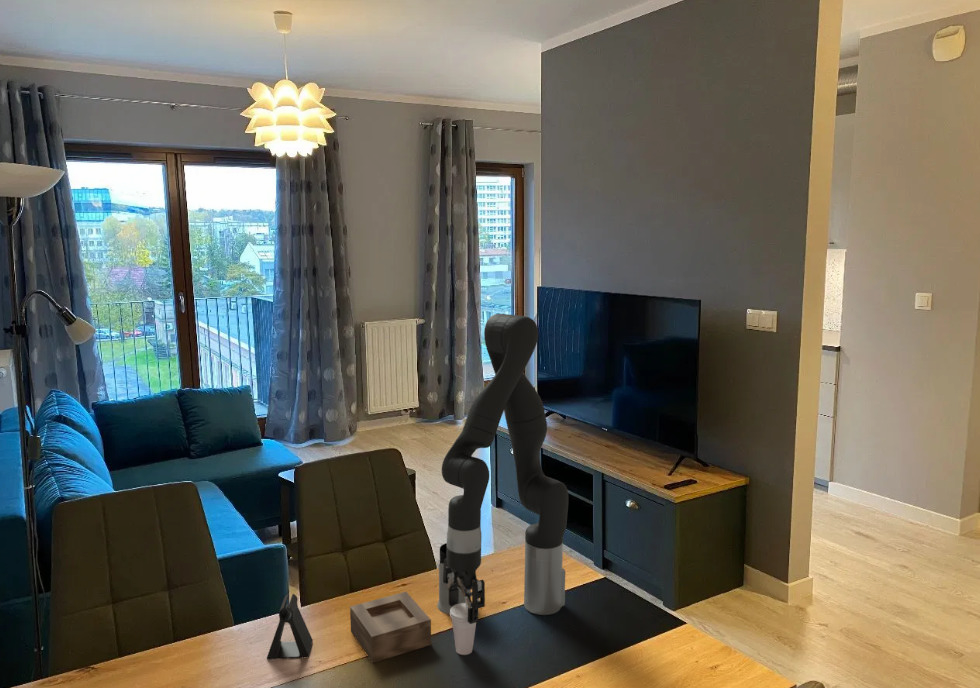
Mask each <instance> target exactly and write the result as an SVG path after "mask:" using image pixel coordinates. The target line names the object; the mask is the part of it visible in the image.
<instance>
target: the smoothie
mask: <svg viewBox="0 0 980 688" xmlns="http://www.w3.org/2000/svg"><path fill="white" fill-rule="evenodd" d="M467 593H468V592H467ZM479 611H480V610H479V609H478V616H480V615H479V614H480V613H479ZM449 616H450V618H451V623H452V631H453V638H454V646H455V653H457V654H458V655H461V656H467V655H470V654H471V653H472V652H473V649H474V641H475V635H476V634H475V633H476V627H477V626H476V625H477V622H476V623H472V624H470V623H469V622H468V604H467V600H466V603H459V604H456V605H454V606H453V607H452V608H451V609H450V614H449Z"/></svg>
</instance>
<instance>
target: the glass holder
mask: <svg viewBox="0 0 980 688" xmlns="http://www.w3.org/2000/svg"><path fill="white" fill-rule="evenodd" d="M444 559H447V542H445V543H444V544H442V545H441V546H440V547H439V564H438V601H437V605H436V607H437V609H438V610H439V611H440V612H442V613H443V614H447V615H450V609H451V608H452V607H453V606H450V605H449V590H448V589H447V583H445V584H444V582H443V568H444ZM450 576H451V573H450V574H448V577H450ZM457 588H458V589H459V603H466V598H464V597H463V594H462V591H461V589H460V588H459V587H457ZM467 592H468V593H470V592H472V589H471V590H468V591H467ZM470 598H471V599H472V596H471V597H470ZM471 602H472V600H471ZM459 603H458V604H459Z"/></svg>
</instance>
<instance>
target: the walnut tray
mask: <svg viewBox="0 0 980 688" xmlns="http://www.w3.org/2000/svg"><path fill="white" fill-rule="evenodd" d="M349 609H350V610H349V611H350V612H349V616H350V619H349V620H350V633H352V635H353V636H354V638H355V640H356V641H357V643H358V644H359V645H360V647H361V648H362V650H363V649H364V650H363V651H364V653H365V652H366V653H365V654H366V656H367V655H368V656H367V657H368V659H369V658H370V659H369V660H370V661H371V663H372V664H374V663H376V661H377V662H380V661H383V660H386V658H387V659H390V658H393V657H397V656H398V655H403V654H406V653H409V652H411V651H415V650H418V649H421V648H425V647H428V646H431V645H432V619H431V618H430V617H429V616H428V614H427V613H426V612H425V611H424V610H423V609H422V608H421V607H420V605H419V604H418V603H417V601H415V600H414V599H413V597H412V596H411V595H410V594H409V593H408V591H403V592H400V593H399V592H398V593H396V594H392V595H388V596H385V597H381V598H377V599H374V600H369V601H366V602H362V603H358V604H355V605H350V606H349ZM382 659H383V660H382ZM379 660H380V661H379ZM373 662H374V663H373Z"/></svg>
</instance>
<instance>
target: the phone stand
mask: <svg viewBox="0 0 980 688" xmlns="http://www.w3.org/2000/svg"><path fill="white" fill-rule="evenodd" d="M289 596H290V595H289V593H288V594H285V596H284V597H283V601H282V604H281V606H280V609H279V611H278V618H279V622H278V625H277V628H276V630H275V633H274V636H273V639H272V642H271V643H270V644H271V645H270V647H269V651H268V654H267V656H266V659H267V660H286V659H289V658H290V659H305V658H304V657H308V658H309V656H310V653H311V649H312V646H313V641H314V640H313V638H312V636H311V633H310V631H309V628H308V626H307V624H306V621H305V620H304V617H303V615H302V613H301V610H300V608H299V606H298V600H299V599H298V596H297V595H296V594H294V593H292V594H291V596H290V597H291V598H290V601H289V603H288V604H287V602H288V599H289ZM285 624H289V627H290V629H291V632H292V636H293V638H294V640H291V641H281V640H282V636H283V633H284V628H285ZM302 657H303V658H302Z"/></svg>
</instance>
